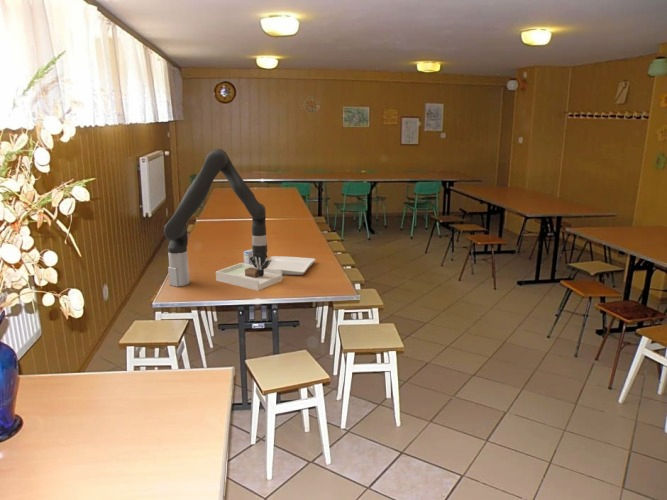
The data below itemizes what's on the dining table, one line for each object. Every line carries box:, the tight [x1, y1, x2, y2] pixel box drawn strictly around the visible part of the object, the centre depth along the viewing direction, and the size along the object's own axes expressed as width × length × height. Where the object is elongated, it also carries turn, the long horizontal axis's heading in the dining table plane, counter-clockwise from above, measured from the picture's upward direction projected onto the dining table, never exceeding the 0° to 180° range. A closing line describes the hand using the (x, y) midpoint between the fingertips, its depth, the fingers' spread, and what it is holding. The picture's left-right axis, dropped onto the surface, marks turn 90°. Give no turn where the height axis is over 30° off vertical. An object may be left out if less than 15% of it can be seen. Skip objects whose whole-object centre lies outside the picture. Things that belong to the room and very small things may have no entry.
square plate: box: [267, 255, 317, 276], centre depth 291 cm, size 27×27×4 cm
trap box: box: [215, 262, 284, 292], centre depth 271 cm, size 19×29×5 cm, turn 56°
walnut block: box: [245, 267, 260, 278], centre depth 269 cm, size 4×7×4 cm, turn 56°
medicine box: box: [242, 248, 256, 265], centre depth 298 cm, size 8×4×9 cm, turn 141°
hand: (261, 276), depth 266 cm, fingers closed
